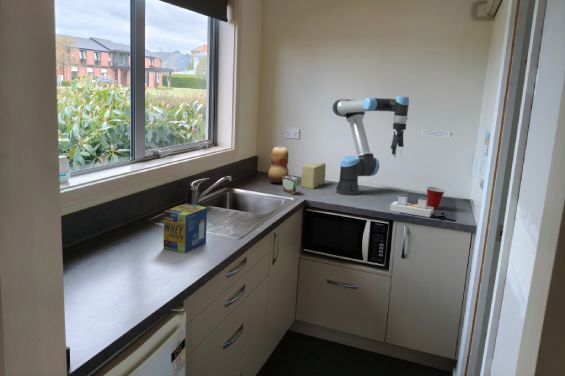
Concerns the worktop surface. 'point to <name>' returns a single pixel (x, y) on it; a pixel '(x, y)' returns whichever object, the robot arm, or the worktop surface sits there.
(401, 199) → the grey plug
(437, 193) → the plastic cup
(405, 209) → the power strip
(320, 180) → the cheese
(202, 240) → the protein box
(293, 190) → the food container
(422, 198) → the beige plug
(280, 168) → the butternut squash
